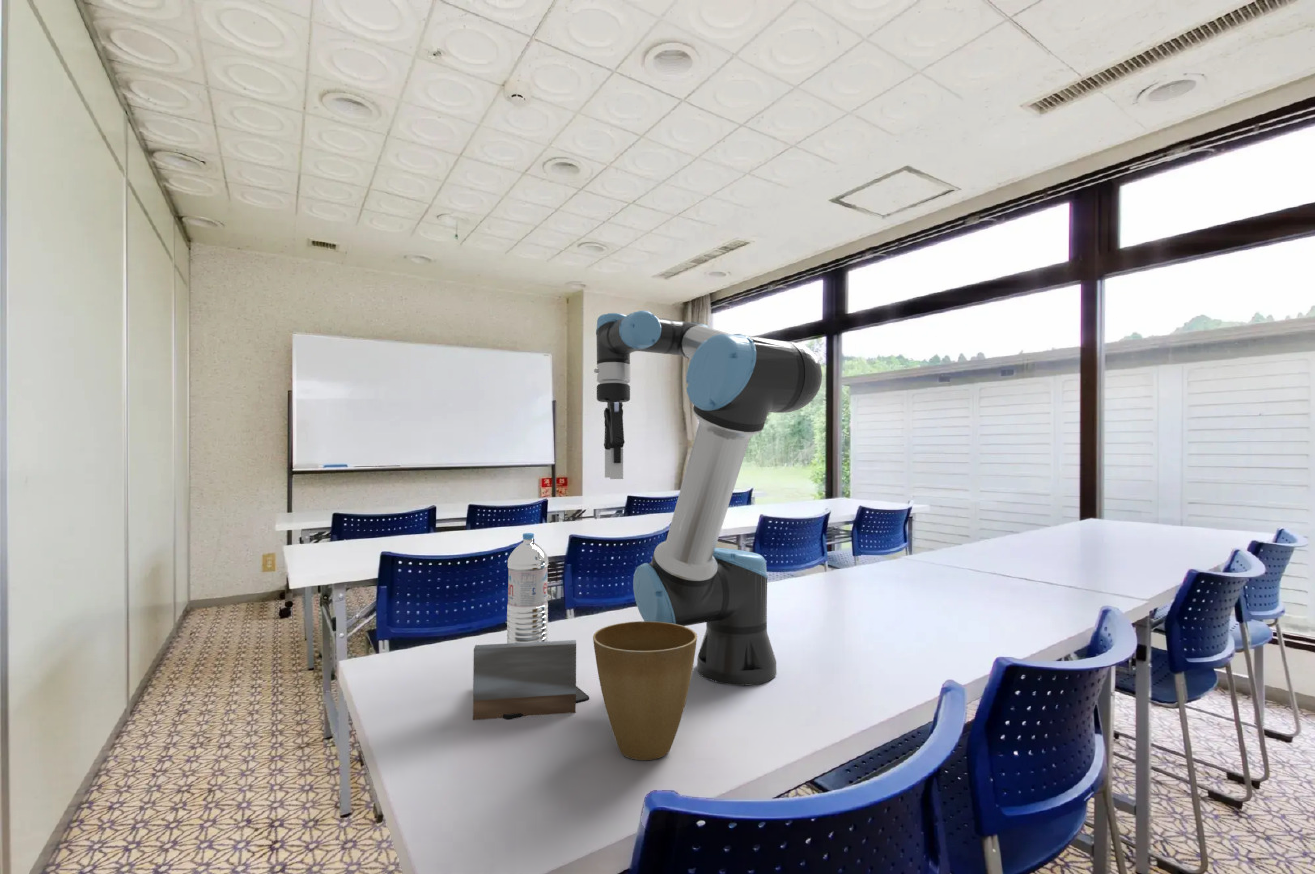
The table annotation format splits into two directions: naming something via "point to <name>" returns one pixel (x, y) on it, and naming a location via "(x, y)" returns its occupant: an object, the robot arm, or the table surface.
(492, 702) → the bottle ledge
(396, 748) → the table surface
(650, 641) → the plant pot
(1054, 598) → the table surface
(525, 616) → the water bottle
